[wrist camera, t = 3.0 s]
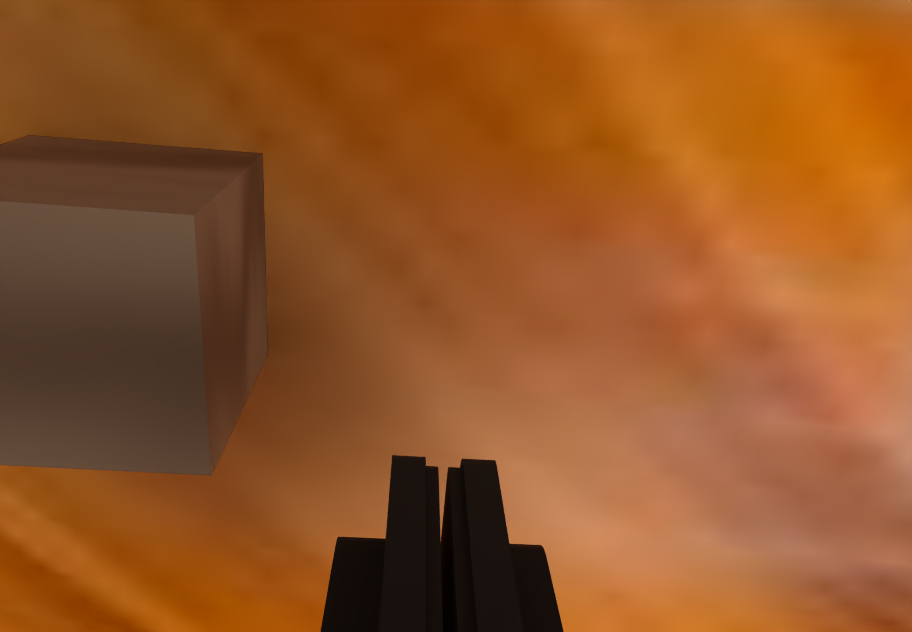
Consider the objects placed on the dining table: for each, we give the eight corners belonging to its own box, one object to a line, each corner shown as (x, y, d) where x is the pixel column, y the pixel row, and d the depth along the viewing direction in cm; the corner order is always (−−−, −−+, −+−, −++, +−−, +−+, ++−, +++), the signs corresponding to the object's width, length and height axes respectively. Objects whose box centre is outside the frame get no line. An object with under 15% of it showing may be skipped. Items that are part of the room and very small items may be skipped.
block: (31, 134, 18) (-140, 190, 13) (263, 152, 19) (193, 215, 13) (62, 340, 21) (-70, 461, 15) (268, 352, 21) (211, 475, 16)
